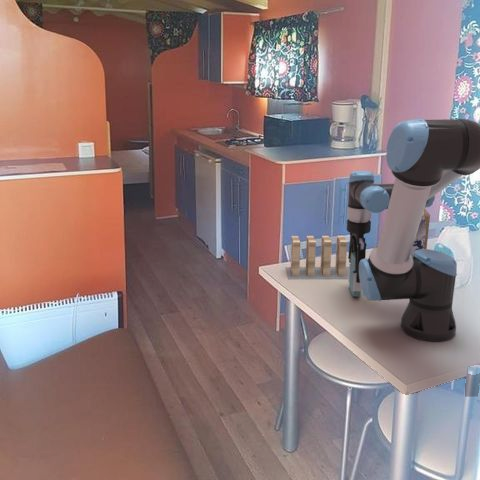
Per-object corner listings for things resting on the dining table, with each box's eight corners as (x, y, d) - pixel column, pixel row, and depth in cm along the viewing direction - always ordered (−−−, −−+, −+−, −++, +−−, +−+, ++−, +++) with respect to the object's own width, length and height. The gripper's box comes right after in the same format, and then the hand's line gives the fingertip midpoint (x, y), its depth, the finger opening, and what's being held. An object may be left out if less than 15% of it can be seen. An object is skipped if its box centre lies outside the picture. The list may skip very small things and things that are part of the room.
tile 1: (299, 276, 200) (300, 242, 196) (292, 276, 200) (293, 242, 196) (297, 269, 207) (298, 236, 203) (290, 269, 207) (291, 236, 203)
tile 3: (329, 276, 200) (331, 241, 196) (323, 276, 200) (324, 242, 196) (326, 269, 207) (328, 235, 203) (320, 269, 207) (321, 235, 203)
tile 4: (345, 276, 200) (347, 241, 196) (338, 276, 200) (340, 241, 196) (341, 269, 207) (343, 235, 203) (335, 269, 207) (337, 235, 203)
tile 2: (314, 276, 200) (315, 242, 196) (307, 276, 200) (309, 242, 196) (312, 269, 207) (313, 236, 203) (305, 269, 207) (306, 236, 203)
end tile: (360, 296, 183) (362, 258, 179) (353, 296, 183) (355, 258, 179) (356, 288, 190) (358, 251, 186) (348, 288, 190) (351, 251, 186)
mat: (378, 279, 198) (378, 278, 198) (288, 280, 198) (288, 279, 198) (370, 267, 210) (370, 266, 210) (285, 268, 209) (285, 267, 209)
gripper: (378, 228, 169) (373, 298, 176) (363, 211, 188) (359, 275, 195) (353, 228, 169) (349, 298, 176) (341, 211, 188) (338, 275, 195)
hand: (355, 286), depth 186 cm, fingers closed on end tile, 7 cm apart
